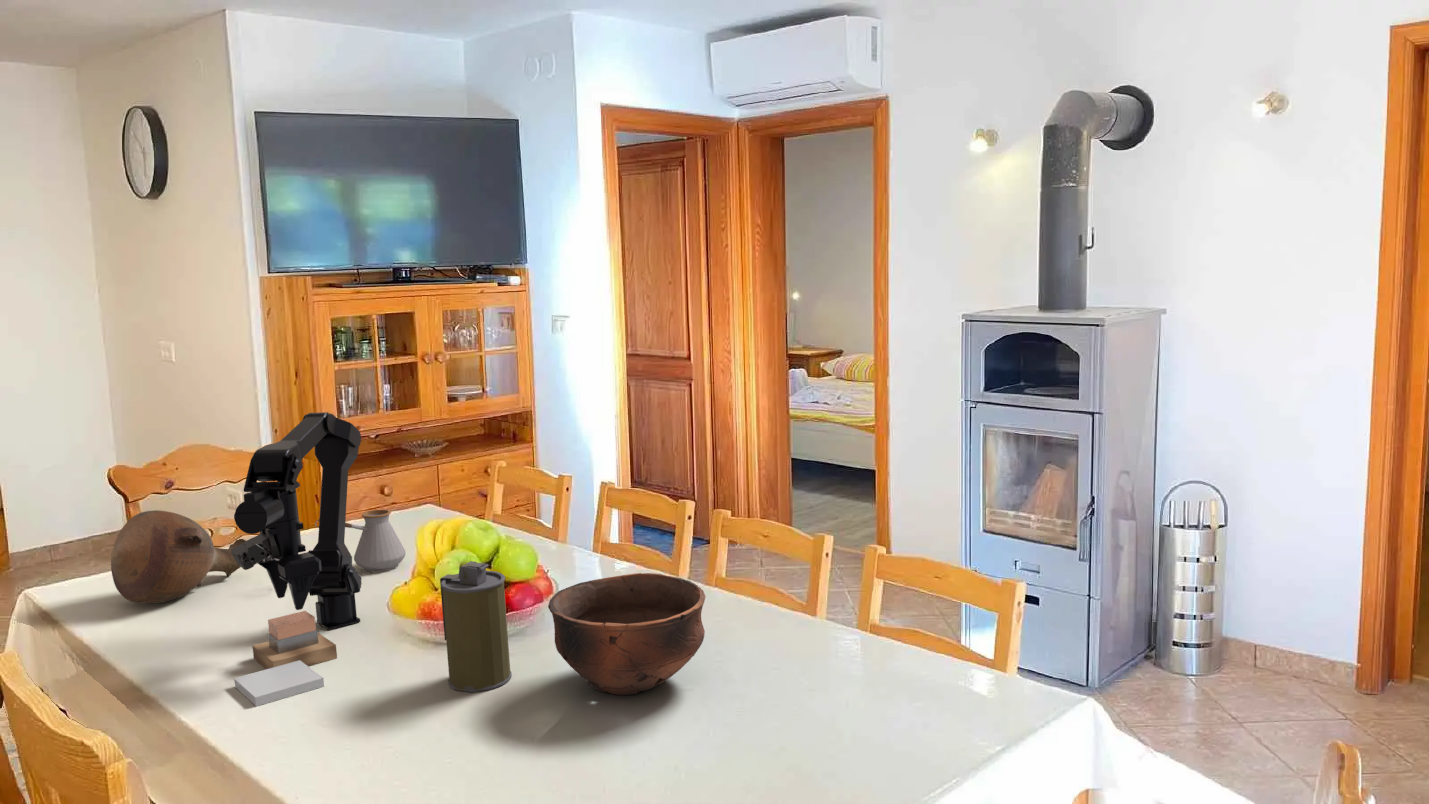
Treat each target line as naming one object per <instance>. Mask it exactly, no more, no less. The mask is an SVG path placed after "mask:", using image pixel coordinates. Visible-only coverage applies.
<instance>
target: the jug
mask: <svg viewBox="0 0 1429 804" xmlns="http://www.w3.org/2000/svg"><path fill="white" fill-rule="evenodd" d="M245 541H247V540H246V539H244V538H239V539H236V540H235V541H234V543H233V544H230V545H229V547H228V548H220V547H216V546H214V542H213V539H212V537H211V535H209V533H208V532H207V530H206V529H205V528H203V527H202V526H201V524H199V523H198V522H197V521H195V520H193V519H191V518H189V517H186V516H185V515H182V514H179V513H175V512H172V511H167V510H146V511H141V512H139V513H137V514H135V515H133V516H132V517H130V518H129V520H128V521H127V522H126V523H125V524H124V525H123V527H122V528H121V529H120V530H119V532H118V534H117V536H116V538H115V542H114V544H113V548H112V550H111V555H110V556H111V561H110V570H111V576H112V577H111V578H112V580H113V584H114V586H115V588H116V590H117V591H118V592H119V594H120V595H121V596H122V597H123V598H124V599H125V600H127V601H129V602H134V603H140V604H141V603H144V604H146V603H147V604H151V603H152V604H153V603H156V604H157V603H165V602H170V601H172V600H173V601H174V600H176V599H179V598H180V597H183V596H185V595H187V593H189V592H191V591H192V590H194V588H196V587H197V588H200V587H201V586H203V583H202V581H203V580H204V579H205V578H206V577H207V575H208V574H209V573H211V572H220V573H221V572H223V573H225V575H226V576H227V577H231V576H232V574H233V573H234V572H236V571H237V570H239V569H241V567H239V566H238V564H237V562H236V560H235V558H234V557H233V555H232V553H231V550H232V549H233V548H235V547H236V546H238V545H240V544H242V543H244V542H245Z"/></svg>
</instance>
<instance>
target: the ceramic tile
mask: <svg viewBox="0 0 1429 804" xmlns="http://www.w3.org/2000/svg"><path fill="white" fill-rule="evenodd" d="M233 682H234V688H235V689H237V690H238V691H239V692H240V693H241V694H242V695H243V696H245V698H247V700H248V701H250V702H251V703H252V704H254V706H255V707H259V706H262V705H266V704H268V703H269V704H270V703H272V702H276V701H279V700H282V699H286V698H289V697H293V696H296V695H299V694H303V693H307V692H309V691H313V690H316V689H320V688H324V687H325V681H324V677H323V676H322V675H321V674H319V673H318V672H316V671H315V670H313V668H311V667H310V666H307V665H306V664H304V663H303V662H302V661H300V660H299V661H295V662H291V663H288V664H284V665H281V666H277V667H273V668H270V669H266V668H265V669H263V670H260V671H256V672H251V673H249V674H245V675H240V676H238V677H234V678H233Z"/></svg>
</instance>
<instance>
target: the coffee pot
mask: <svg viewBox="0 0 1429 804" xmlns="http://www.w3.org/2000/svg"><path fill="white" fill-rule="evenodd" d="M391 514H392V512H391V510H389V509H372V510H367V511H364V512H362V513H361V517H362V518H363V519H364V521H365V523H364V525H357V524H352V523H349V522H345V528H348V529H350V528H351V529H355V530H359V531H360V530H361V531H362V532H361V535H360V538H359V541H358V544H357V547H356V550H355V552H354V556H353V560H354V562H355V564H356V565H357V566H359V567H360V568H362V570H363V571H365V572H370V573H377V572H385V571H389V570H393V569H395V568H397V567H398V566H399V564H401V563H402V561H403V560H404V559H405V556H406V554H407V553H406V550H405V549H406V548H405V547H404V545H403V544H402V542H401V541H400V538H399V536H398V535H397V533H396V531H395V529H394V527H393V526H392V524H391V522H390V521H389V519H390V515H391ZM317 522H319V519H317V520H316V521H315V523H314V526H315V528H317V529H319V526H317Z"/></svg>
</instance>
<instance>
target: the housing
mask: <svg viewBox="0 0 1429 804" xmlns="http://www.w3.org/2000/svg"><path fill="white" fill-rule="evenodd" d="M315 618H316V617H315V615H313V614H311V613H309V612H308V611H306V610H302V611H298V612H294V613H289V614H285V615H282V616H278V617H274V618H270V619H267V625H268V633H267V638H268V639H267V640H268V641H269V647H270V648H272V649H273V650H274V651H275V652H277V653H278V654H281V653H285V652H289V651H292V650H296V649H300V648H304V647H307V646H311V645H315V644H318V633H319V632H318V630H317V627H316V619H315Z"/></svg>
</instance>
